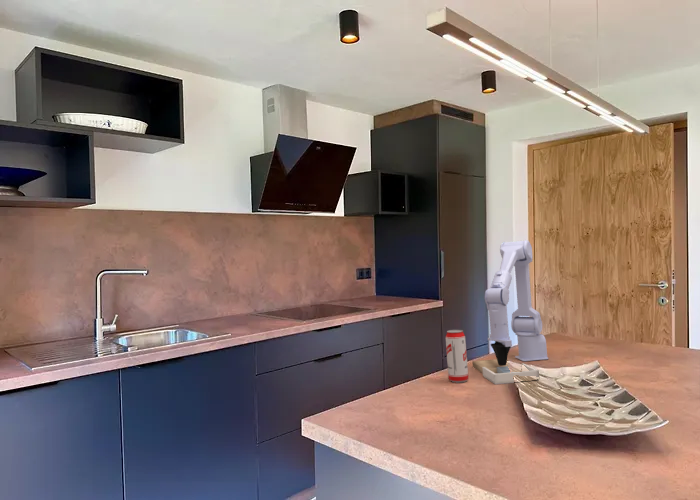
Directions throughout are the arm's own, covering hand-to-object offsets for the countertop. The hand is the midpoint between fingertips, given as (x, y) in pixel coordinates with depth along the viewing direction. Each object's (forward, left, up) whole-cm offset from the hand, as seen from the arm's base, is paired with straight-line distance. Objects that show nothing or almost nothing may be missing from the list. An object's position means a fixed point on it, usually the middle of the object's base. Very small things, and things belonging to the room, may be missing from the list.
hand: (502, 365), depth 161 cm
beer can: (+16, +4, -3) cm, 17 cm away
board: (0, -6, -3) cm, 7 cm away
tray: (0, +6, -3) cm, 7 cm away
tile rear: (0, +3, -2) cm, 4 cm away
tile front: (0, +8, -2) cm, 8 cm away
